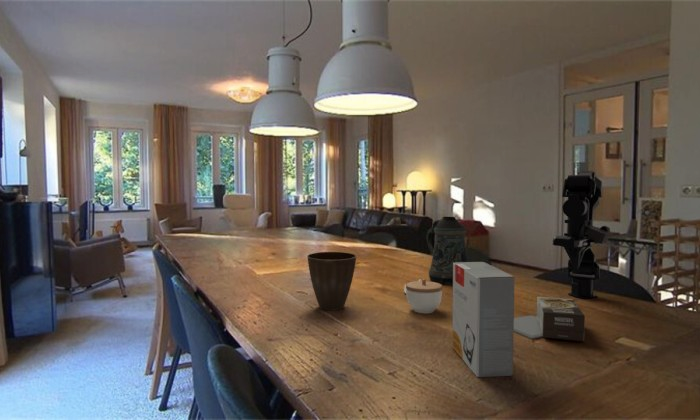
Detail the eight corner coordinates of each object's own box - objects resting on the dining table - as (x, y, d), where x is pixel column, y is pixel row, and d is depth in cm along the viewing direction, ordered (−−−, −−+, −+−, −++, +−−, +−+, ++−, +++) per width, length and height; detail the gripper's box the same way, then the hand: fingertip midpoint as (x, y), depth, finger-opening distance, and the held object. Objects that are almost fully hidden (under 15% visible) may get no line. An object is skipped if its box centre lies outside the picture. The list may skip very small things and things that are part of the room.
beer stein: (465, 287, 158) (466, 219, 157) (415, 282, 168) (415, 217, 167) (476, 279, 173) (477, 216, 171) (429, 274, 182) (429, 215, 181)
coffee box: (573, 298, 116) (586, 315, 101) (572, 322, 117) (585, 342, 101) (536, 295, 119) (543, 311, 104) (535, 318, 120) (542, 338, 104)
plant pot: (363, 303, 137) (364, 253, 136) (343, 316, 124) (343, 261, 123) (322, 298, 143) (322, 250, 142) (298, 310, 130) (298, 257, 129)
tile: (531, 316, 123) (531, 314, 123) (574, 331, 110) (574, 330, 110) (492, 322, 118) (492, 320, 118) (531, 339, 105) (531, 337, 105)
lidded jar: (419, 303, 137) (420, 274, 137) (449, 310, 129) (449, 279, 129) (398, 310, 130) (398, 279, 129) (428, 318, 122) (428, 285, 121)
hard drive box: (451, 348, 99) (451, 261, 98) (483, 347, 100) (484, 261, 99) (476, 378, 84) (477, 276, 83) (514, 376, 84) (516, 275, 83)
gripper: (592, 219, 119) (590, 276, 119) (620, 217, 130) (618, 269, 131) (552, 217, 127) (550, 270, 128) (581, 215, 139) (579, 263, 140)
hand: (576, 268), depth 131 cm, fingers closed
